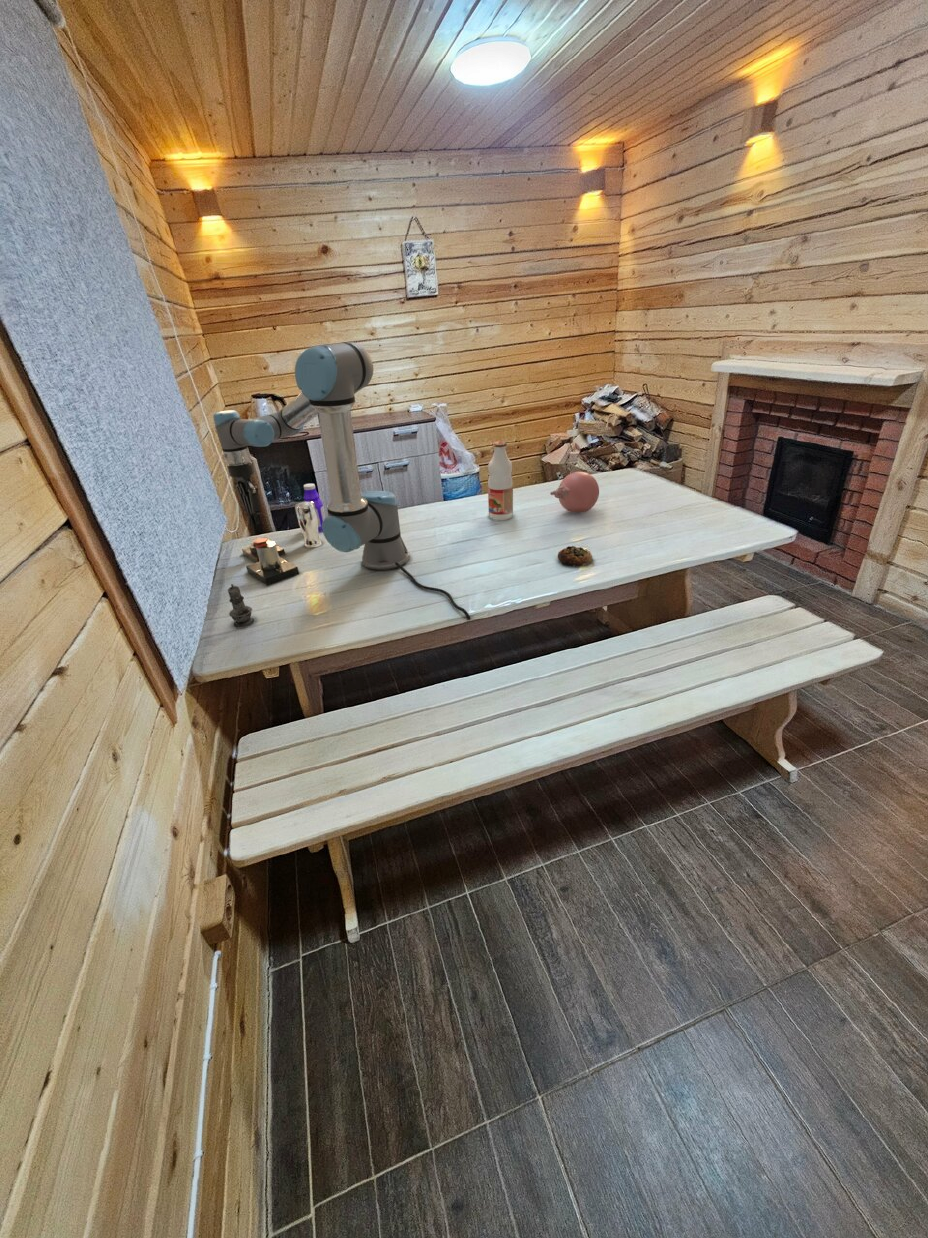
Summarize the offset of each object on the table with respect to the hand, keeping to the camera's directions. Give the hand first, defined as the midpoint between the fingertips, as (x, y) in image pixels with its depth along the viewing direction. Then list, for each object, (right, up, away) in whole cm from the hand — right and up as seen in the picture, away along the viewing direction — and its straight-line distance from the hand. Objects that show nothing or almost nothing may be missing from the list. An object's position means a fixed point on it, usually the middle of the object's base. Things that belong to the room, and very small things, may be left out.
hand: (258, 532), depth 178 cm
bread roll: (+106, -11, -12) cm, 107 cm away
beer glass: (+16, -3, +10) cm, 19 cm away
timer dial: (+8, -13, -11) cm, 18 cm away
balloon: (+112, +11, +24) cm, 115 cm away
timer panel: (+8, -15, -9) cm, 19 cm away
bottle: (+14, +5, +23) cm, 27 cm away
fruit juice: (+85, +10, +24) cm, 89 cm away
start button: (0, -4, +3) cm, 5 cm away
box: (0, -7, +4) cm, 8 cm away
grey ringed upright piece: (+10, -31, -35) cm, 48 cm away
